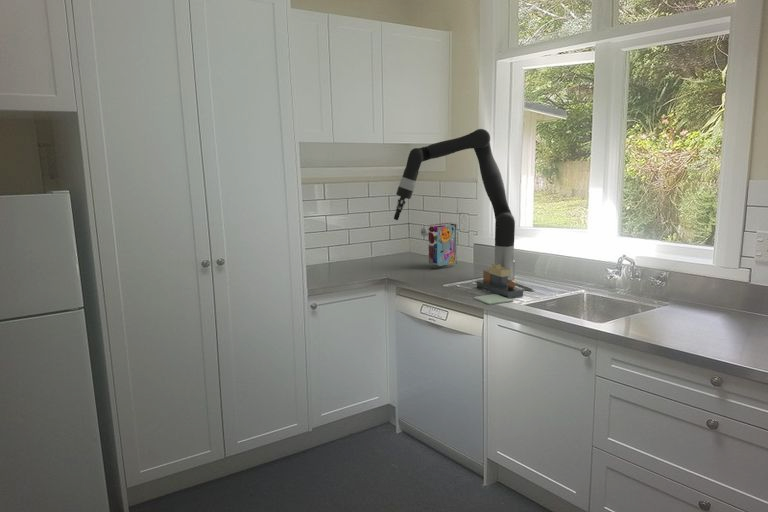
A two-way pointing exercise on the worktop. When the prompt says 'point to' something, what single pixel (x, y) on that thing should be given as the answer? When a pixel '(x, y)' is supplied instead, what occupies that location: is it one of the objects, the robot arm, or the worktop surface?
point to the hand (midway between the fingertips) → (395, 218)
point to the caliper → (522, 286)
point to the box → (441, 244)
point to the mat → (493, 299)
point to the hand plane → (499, 285)
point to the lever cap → (499, 270)
